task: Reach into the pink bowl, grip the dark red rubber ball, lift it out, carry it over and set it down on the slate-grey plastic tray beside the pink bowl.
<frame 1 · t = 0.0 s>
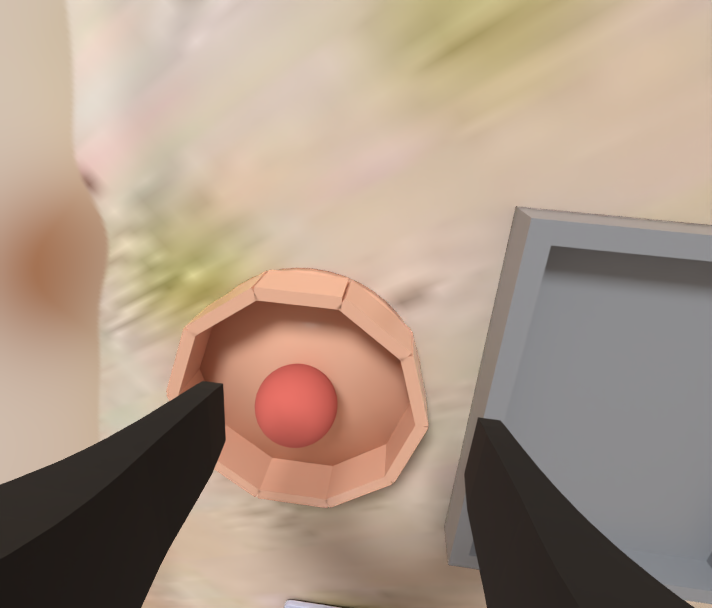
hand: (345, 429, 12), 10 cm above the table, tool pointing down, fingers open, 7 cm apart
ball: (296, 404, 21), point 3 cm above the table, touching pink bowl
tray: (628, 413, 22), on the table
pink bowl: (308, 374, 23), on the table
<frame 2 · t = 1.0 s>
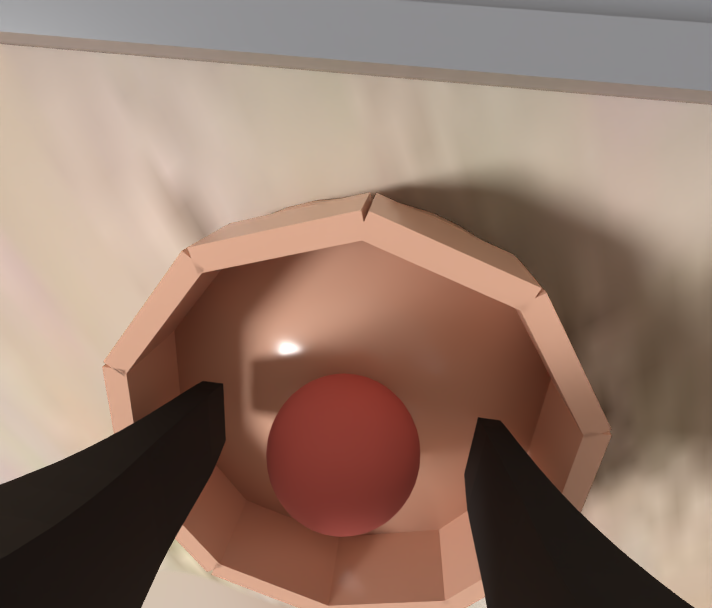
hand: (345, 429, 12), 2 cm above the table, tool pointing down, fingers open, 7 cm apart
ball: (343, 450, 11), point 3 cm above the table, touching pink bowl
pink bowl: (355, 389, 14), on the table
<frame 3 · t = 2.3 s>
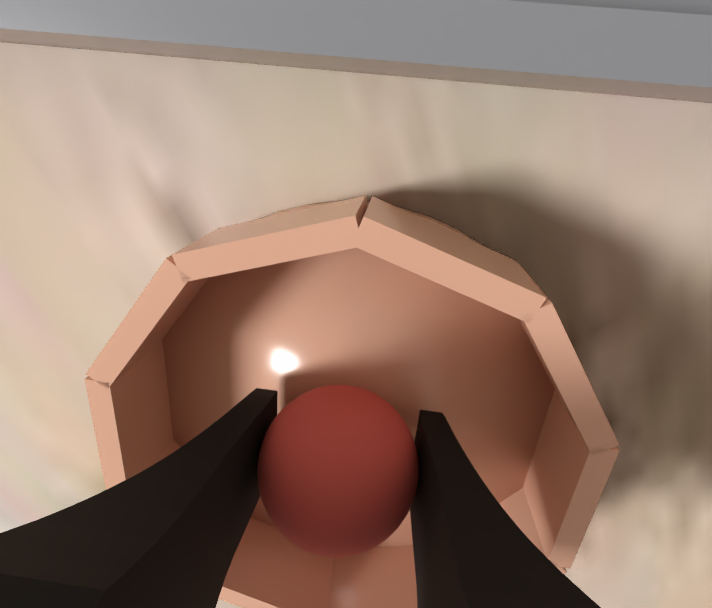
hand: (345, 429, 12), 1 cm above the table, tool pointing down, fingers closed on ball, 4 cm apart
ball: (338, 465, 11), point 3 cm above the table, touching pink bowl, gripper
pink bowl: (351, 399, 13), on the table
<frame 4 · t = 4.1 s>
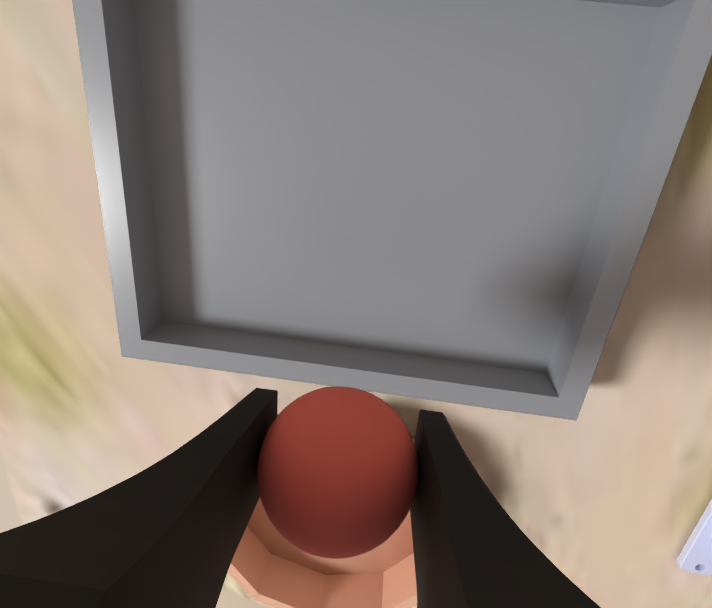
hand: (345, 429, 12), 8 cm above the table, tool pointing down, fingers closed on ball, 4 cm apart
ball: (338, 466, 11), point 10 cm above the table, touching gripper
tray: (366, 192, 18), on the table
pink bowl: (334, 494, 24), on the table
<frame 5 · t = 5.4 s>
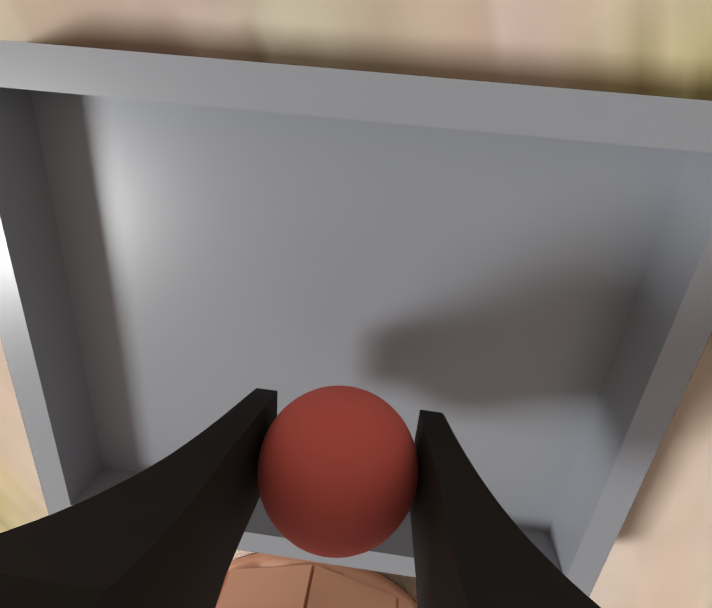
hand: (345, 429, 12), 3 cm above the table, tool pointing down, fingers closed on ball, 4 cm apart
ball: (338, 465, 11), point 5 cm above the table, touching gripper
tray: (331, 337, 15), on the table
when the fingers open (3 cm above the table, at t = 6.2 s): ball drops 2 cm, resting on tray.
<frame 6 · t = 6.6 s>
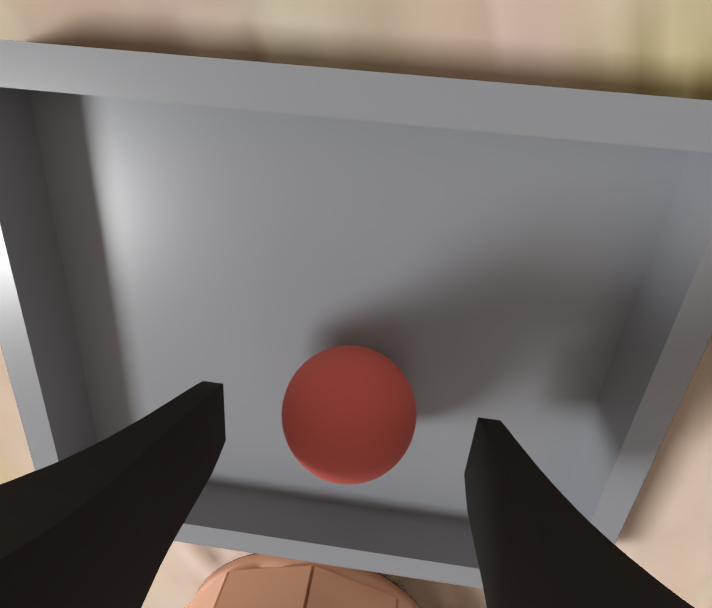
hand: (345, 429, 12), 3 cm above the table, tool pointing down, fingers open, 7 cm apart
ball: (349, 412, 13), point 3 cm above the table, touching tray
tray: (331, 337, 15), on the table
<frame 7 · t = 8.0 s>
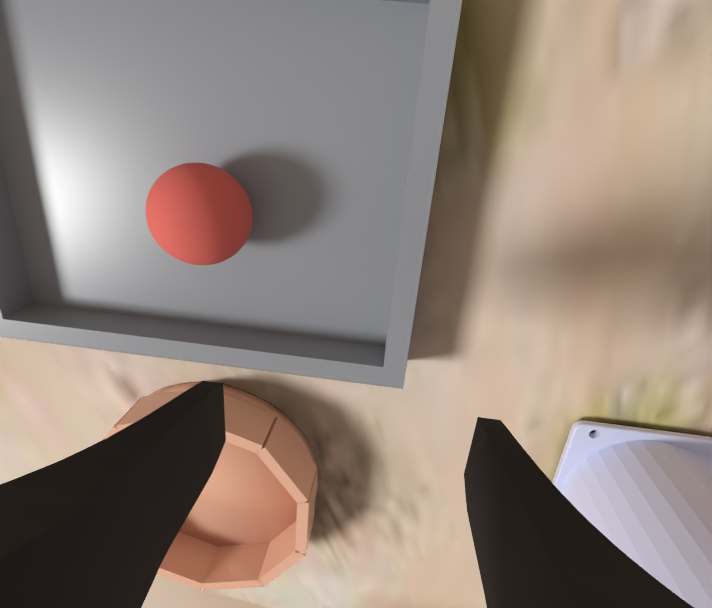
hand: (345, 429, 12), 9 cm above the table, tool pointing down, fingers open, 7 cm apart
ball: (201, 215, 17), point 3 cm above the table, touching tray
tray: (202, 178, 19), on the table
pink bowl: (218, 468, 26), on the table
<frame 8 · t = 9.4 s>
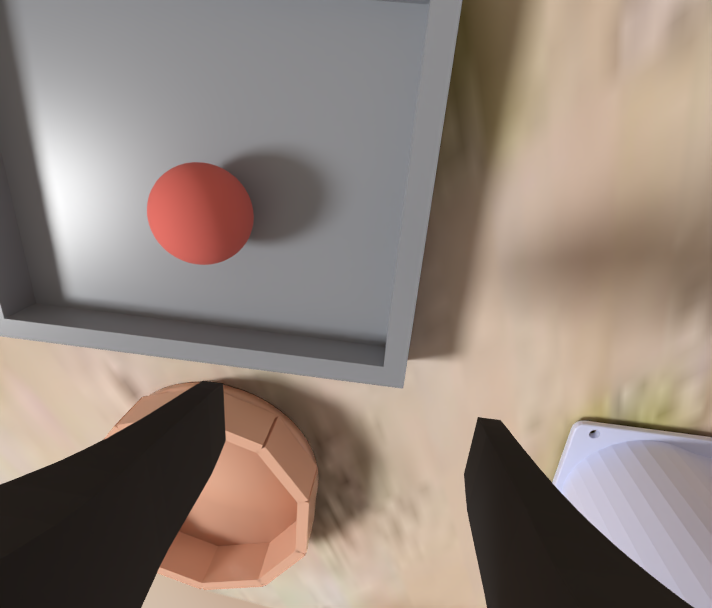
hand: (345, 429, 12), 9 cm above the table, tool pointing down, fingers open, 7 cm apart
ball: (202, 214, 17), point 3 cm above the table, touching tray
tray: (203, 178, 19), on the table
pink bowl: (219, 468, 26), on the table
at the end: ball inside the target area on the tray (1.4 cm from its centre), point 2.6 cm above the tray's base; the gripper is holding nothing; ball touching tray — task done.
